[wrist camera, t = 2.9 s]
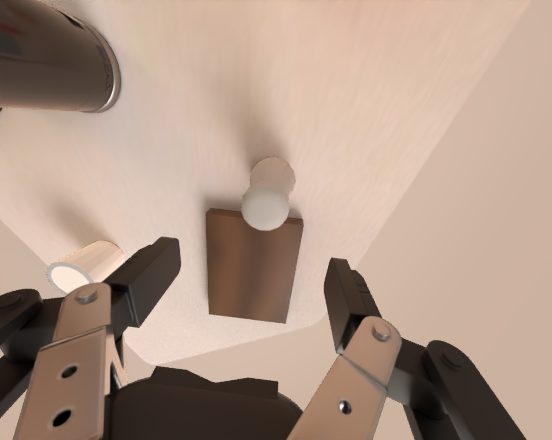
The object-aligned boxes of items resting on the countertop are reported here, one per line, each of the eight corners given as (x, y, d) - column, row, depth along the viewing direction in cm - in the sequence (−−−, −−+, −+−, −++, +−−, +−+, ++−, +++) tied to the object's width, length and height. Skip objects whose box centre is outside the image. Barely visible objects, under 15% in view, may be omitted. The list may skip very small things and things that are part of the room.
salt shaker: (297, 192, 30) (303, 237, 19) (258, 199, 31) (240, 247, 19) (290, 149, 28) (291, 171, 16) (248, 158, 29) (220, 185, 17)
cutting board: (212, 305, 41) (208, 314, 39) (210, 208, 32) (205, 213, 30) (285, 314, 41) (285, 323, 39) (302, 219, 32) (303, 225, 30)
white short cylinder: (119, 236, 35) (81, 261, 29) (133, 270, 38) (102, 300, 32) (80, 237, 36) (35, 263, 30) (97, 271, 39) (60, 300, 32)
